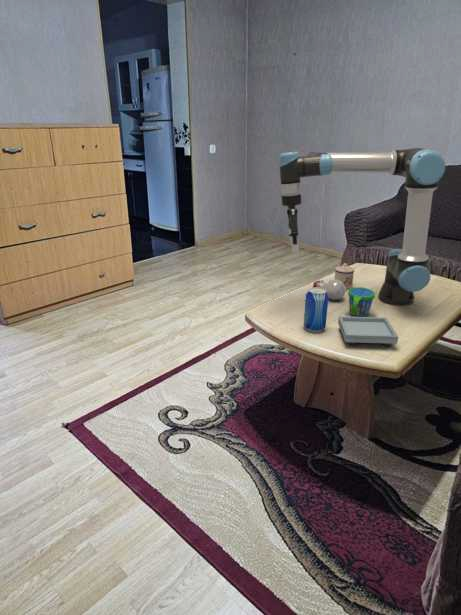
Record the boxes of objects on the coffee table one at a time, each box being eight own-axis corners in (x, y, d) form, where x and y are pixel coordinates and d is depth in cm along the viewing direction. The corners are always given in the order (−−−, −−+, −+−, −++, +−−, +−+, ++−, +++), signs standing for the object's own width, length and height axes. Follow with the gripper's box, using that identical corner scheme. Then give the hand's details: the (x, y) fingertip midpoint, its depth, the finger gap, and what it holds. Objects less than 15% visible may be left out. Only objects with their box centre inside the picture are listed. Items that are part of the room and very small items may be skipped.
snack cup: (363, 324, 173) (366, 300, 169) (338, 317, 179) (341, 294, 175) (378, 311, 184) (381, 289, 180) (354, 305, 190) (357, 283, 186)
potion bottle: (342, 306, 193) (315, 300, 204) (352, 289, 196) (325, 285, 207) (335, 293, 187) (307, 288, 198) (345, 276, 190) (317, 272, 201)
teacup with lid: (344, 291, 206) (347, 267, 202) (329, 286, 212) (331, 263, 208) (359, 285, 213) (362, 262, 209) (344, 280, 220) (346, 258, 215)
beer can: (301, 324, 173) (303, 286, 166) (321, 323, 173) (325, 286, 167) (306, 334, 165) (309, 294, 159) (328, 333, 166) (331, 294, 159)
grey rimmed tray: (384, 329, 168) (386, 317, 166) (396, 349, 154) (398, 336, 152) (337, 328, 170) (338, 316, 167) (344, 347, 155) (346, 335, 153)
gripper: (280, 192, 181) (283, 242, 188) (282, 199, 157) (286, 256, 165) (298, 190, 180) (301, 240, 187) (303, 197, 157) (306, 254, 164)
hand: (294, 248), depth 176 cm, fingers open, 13 cm apart
